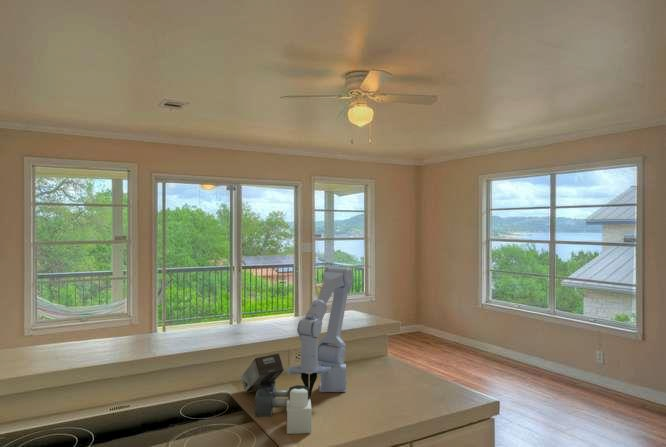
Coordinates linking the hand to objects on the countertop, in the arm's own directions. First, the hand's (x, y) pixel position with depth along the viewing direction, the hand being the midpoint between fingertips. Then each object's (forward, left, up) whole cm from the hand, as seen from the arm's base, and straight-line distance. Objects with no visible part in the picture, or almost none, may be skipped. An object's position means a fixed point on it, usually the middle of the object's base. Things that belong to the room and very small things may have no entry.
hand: (309, 395), depth 151 cm
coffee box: (+20, -13, 0) cm, 24 cm away
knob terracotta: (+9, +7, -1) cm, 11 cm away
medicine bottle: (+2, +18, -3) cm, 19 cm away
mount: (+14, +3, -2) cm, 15 cm away
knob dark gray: (+9, 0, -1) cm, 9 cm away
